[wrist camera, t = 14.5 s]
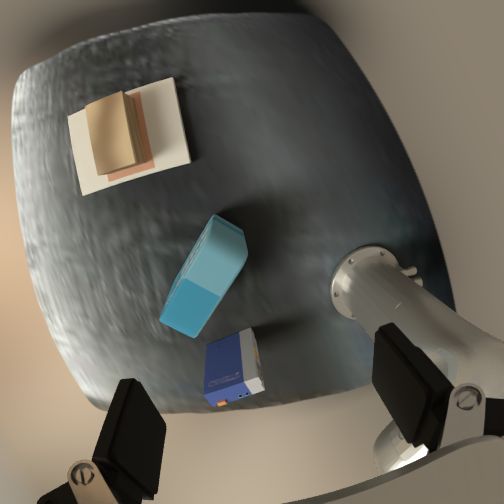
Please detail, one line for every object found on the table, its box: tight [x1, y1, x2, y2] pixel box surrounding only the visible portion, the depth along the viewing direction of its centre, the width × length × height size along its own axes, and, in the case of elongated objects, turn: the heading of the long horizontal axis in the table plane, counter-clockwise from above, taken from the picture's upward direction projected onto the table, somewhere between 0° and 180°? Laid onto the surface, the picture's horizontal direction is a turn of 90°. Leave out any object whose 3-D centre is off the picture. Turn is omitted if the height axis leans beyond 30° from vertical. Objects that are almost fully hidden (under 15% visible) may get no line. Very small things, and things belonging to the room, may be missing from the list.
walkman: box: [203, 327, 265, 407], centre depth 39 cm, size 8×3×12 cm, turn 114°
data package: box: [160, 214, 248, 338], centre depth 34 cm, size 12×4×12 cm, turn 147°
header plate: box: [68, 77, 191, 196], centre depth 33 cm, size 16×12×2 cm
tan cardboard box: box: [85, 91, 147, 176], centre depth 30 cm, size 5×9×5 cm, turn 12°
